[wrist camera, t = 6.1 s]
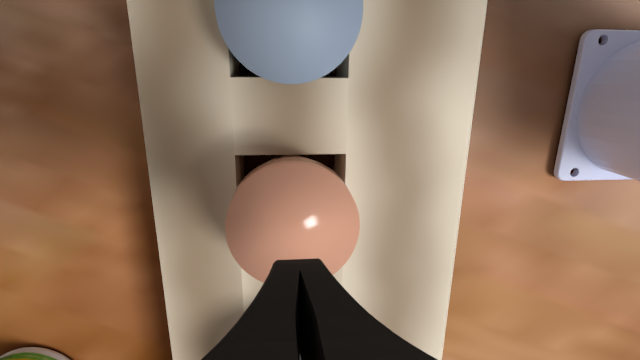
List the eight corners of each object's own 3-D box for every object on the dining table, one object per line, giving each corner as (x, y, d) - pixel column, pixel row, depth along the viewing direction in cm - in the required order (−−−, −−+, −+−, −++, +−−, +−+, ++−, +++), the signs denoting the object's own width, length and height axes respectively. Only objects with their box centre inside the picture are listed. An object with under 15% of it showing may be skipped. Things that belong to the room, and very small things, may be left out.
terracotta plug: (342, 139, 18) (362, 163, 14) (339, 236, 20) (357, 284, 15) (235, 140, 18) (220, 165, 13) (241, 239, 19) (229, 291, 15)
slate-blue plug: (344, -37, 17) (366, -75, 12) (341, 80, 18) (360, 84, 14) (228, -42, 16) (208, -82, 12) (234, 79, 18) (219, 84, 13)
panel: (463, -116, 17) (508, -161, 13) (412, 380, 25) (432, 428, 22) (140, -136, 15) (102, -192, 12) (197, 396, 23) (184, 450, 20)
